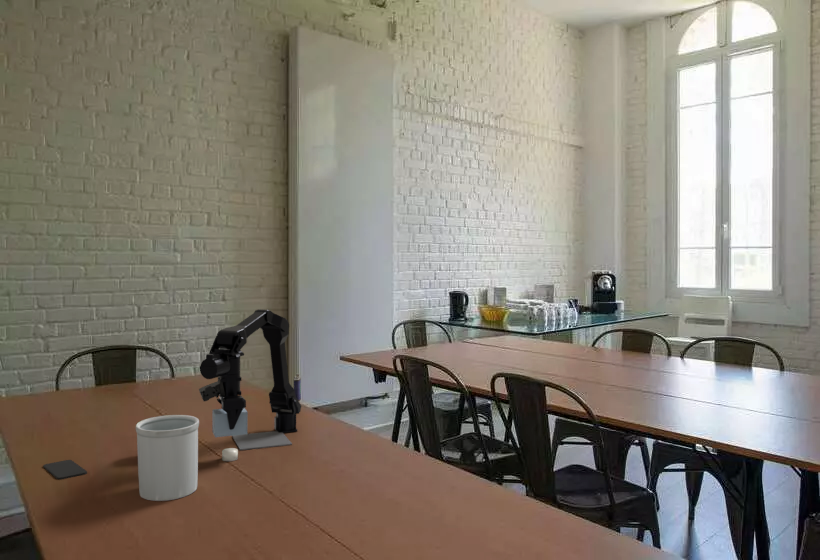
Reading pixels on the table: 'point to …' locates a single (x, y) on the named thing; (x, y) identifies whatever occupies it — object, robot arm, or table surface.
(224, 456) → the pebble
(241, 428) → the grey rectangular block
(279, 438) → the mat
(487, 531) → the table surface
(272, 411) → the robot arm
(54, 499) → the table surface
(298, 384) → the flask
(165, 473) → the utensil holder
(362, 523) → the table surface
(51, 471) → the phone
